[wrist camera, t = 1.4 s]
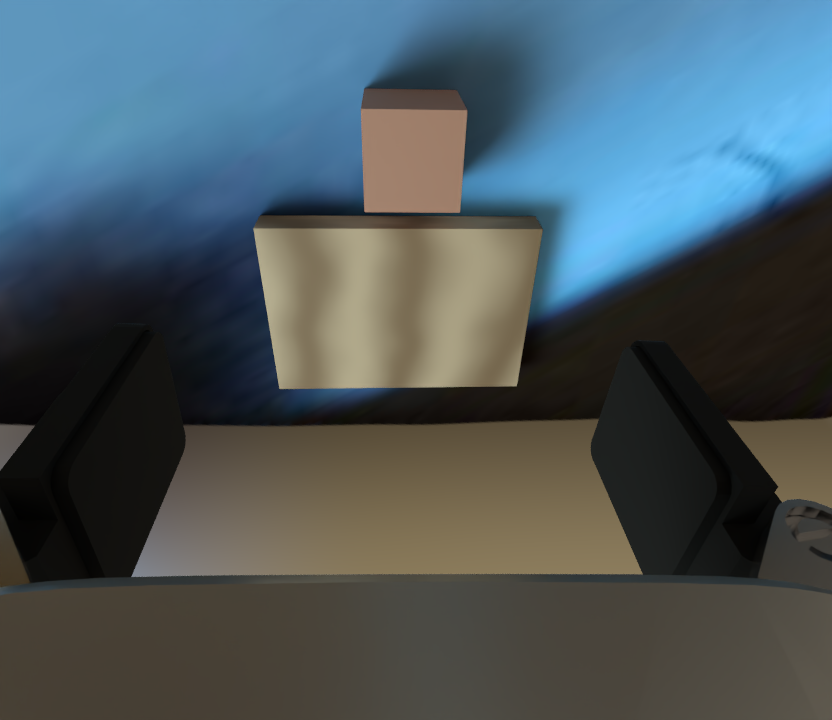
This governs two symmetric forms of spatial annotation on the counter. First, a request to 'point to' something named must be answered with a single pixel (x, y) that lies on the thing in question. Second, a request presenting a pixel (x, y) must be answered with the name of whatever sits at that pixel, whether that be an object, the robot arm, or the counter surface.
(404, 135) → the terracotta cube
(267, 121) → the counter surface
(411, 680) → the robot arm
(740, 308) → the counter surface
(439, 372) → the chopping board
